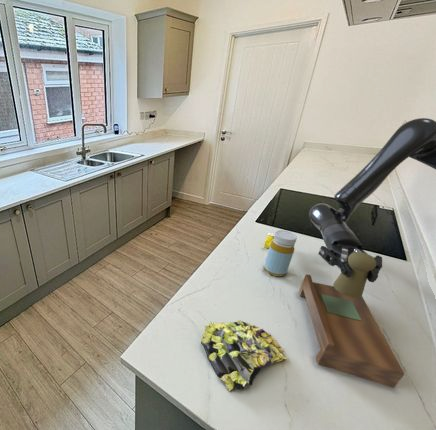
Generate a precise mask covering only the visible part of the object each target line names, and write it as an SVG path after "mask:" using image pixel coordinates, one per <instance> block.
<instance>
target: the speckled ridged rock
mask: <svg viewBox="0 0 436 430" xmlns="http://www.w3.org/2000/svg"><path fill="white" fill-rule="evenodd" d="M204 327H205V331H204V332H203V334H202V338H201V341H200V344H201V345H202V346H203V349H204V351H205V354H206V358H207V361H208V362H209V363H210V365H211V366H212V369H213V371H214V373H215V375H216V376H217V377H218V378H219V380H221V382H223V383H224V384H225V386H226V389H227V391H229V392H231V391H233V389H234V388H236V389H238V390H244V389H245V387H246V385H249V386H253V382H254V380H255V378H256V376H257V375H258V374H259V372H260V371H261V370H262V369H264V368H266V367H268V366H270V365H272V364H274V363H278V362H282V361H283V362H284V361H286V360H288V357H287V356H286V355H285V354H284V353H283V352H284V349H283V348H282V347H281V346H280V345H279V343H278V342H277V340H276V339H275V338H274V337H273V336H272V333H269V332H267V331H266V330H265V329H264V328H263V327H259V326H257V325H255V324H254V325H253V324H251V323H249V322H245V321H243V320H237V321H234V322H227V323H226V322H219V323H218V322H215V323H214V322H210V323H209V324H208V325H204Z"/></svg>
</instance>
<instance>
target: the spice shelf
mask: <svg viewBox="0 0 436 430" xmlns="http://www.w3.org/2000/svg"><path fill="white" fill-rule="evenodd" d="M298 294H299V297H301V298H305V300H306V305H307V308H308V310H309V315H310V318H311V321H312V325H313V328H314V332H315V336H316V338H317V342H318V345H319V350H318V352H317V354H316V356H315V360H316V362H317V365H319V366H323V367H326V368H329V369H332V370H336V371H339V372H341V373H345V374H348V375H352V376H355V377H358V378H362V379H365V380H368V381H371V382H375V383H377V384H381V385H383V386H387V387H390V388H395V387H396V386H397V385H398V383H399V382H400V380H401V379H402V378H403V377H404V375H405V374H406V373H405V372H404V370H403V367H402V365H401V364H400V362H399V360H398V359H397V357H396V355H395V353H394V352H393V350H392V348H391V346H390V344H389V342H388V341H387V339H386V337H385V335H384V333H383V331H382V330H381V328H380V326H379V324H378V322H377V321H376V319H375V317H374V315H373V313H372V311H371V309H370V308H369V306H368V304H367V303H366V301H365V299H364V297H363V295H362V296H361V297H358V298H356V297H349V296H346V295H344V294H342V293H340V292H339V291H337V290H336V289H335V288H334V286H333V285H328V284H324V283H320V282H314V281H313V279H312V275H311V274H308V273H305V275H304V277H303V280H302V282H301V285H300V288H299V291H298Z"/></svg>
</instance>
